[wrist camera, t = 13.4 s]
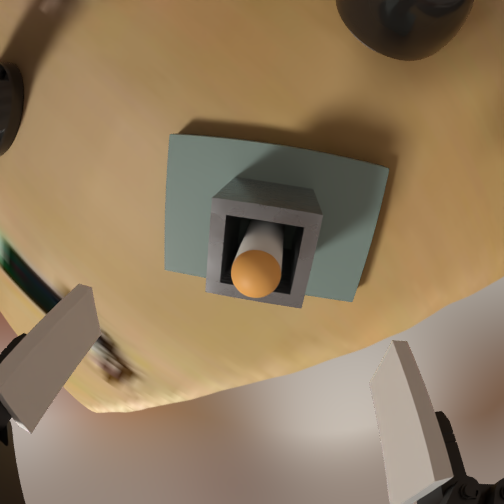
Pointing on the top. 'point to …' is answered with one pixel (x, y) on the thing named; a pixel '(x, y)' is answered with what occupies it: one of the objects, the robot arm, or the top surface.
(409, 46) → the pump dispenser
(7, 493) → the robot arm
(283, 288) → the grey square sleeve
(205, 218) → the keeper
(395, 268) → the top surface
